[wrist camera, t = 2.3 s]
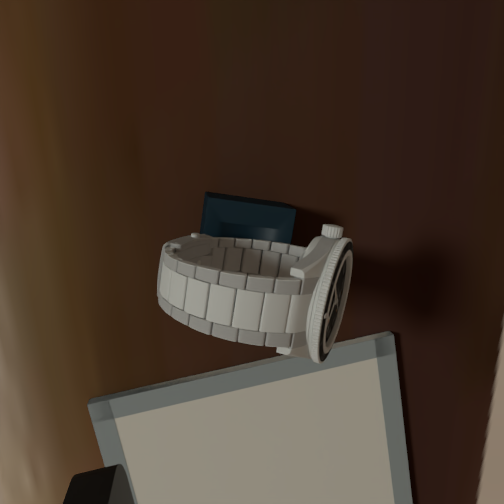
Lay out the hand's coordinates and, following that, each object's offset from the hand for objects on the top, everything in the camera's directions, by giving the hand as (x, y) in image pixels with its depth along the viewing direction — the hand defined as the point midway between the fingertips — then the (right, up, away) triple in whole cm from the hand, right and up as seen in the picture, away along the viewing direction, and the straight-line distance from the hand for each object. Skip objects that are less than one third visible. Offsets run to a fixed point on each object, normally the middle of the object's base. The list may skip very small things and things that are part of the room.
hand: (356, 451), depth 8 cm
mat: (-1, -12, +21) cm, 24 cm away
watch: (-3, +4, +18) cm, 18 cm away
